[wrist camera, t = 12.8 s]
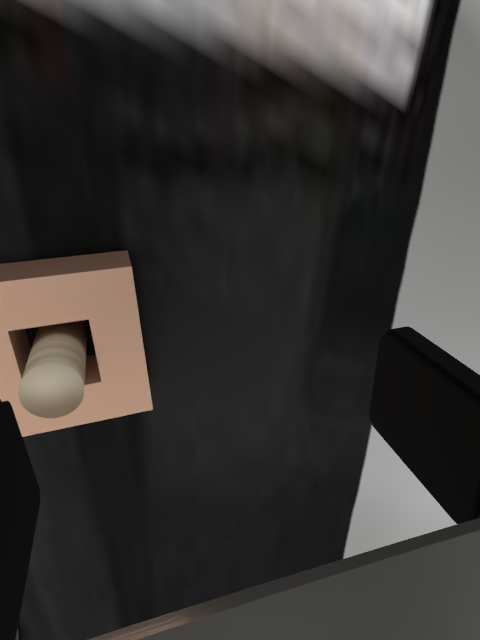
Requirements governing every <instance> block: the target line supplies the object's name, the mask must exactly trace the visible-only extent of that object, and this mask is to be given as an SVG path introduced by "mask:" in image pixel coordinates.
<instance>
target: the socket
mask: <svg viewBox="0 0 480 640" xmlns="http://www.w3.org/2000/svg"><path fill="white" fill-rule="evenodd" d="M88 319H89V323H90V328H91V333H92V337H93V342H94V347H95V352H96V355H91V356H86V368H85V386H84V397H83V400H82V402H81V404H80V405H79V406H78V407H77V408H76V409H75V410H74V411H73V412H71V413H70V414H68V415H65V416H63V417H59V418H42V417H38V416H35V415H33V414H31V413H30V412H28V411H27V410H26V409H25V408H24V407H23V406H22V404H21V403H20V400H19V396H18V390H19V386H20V383H21V380H22V377H23V373H24V370H25V367H26V364H27V361H28V357H29V354H30V351H31V348H30V344H29V340H28V337H27V333H26V330H25V329H26V328H33V327H40V326H47V325H54V324H60V323H67V322H74V321H81V320H88ZM0 399H1V401H2V402H3V401H9V402H10V403H11V405H12V408H13V411H14V414H15V417H16V420H17V423H18V426H19V429H20V432H21V435H22V437H24V436H29V435H33V434H38V433H43V432H48V431H53V430H57V429H62V428H67V427H72V426H77V425H81V424H86V423H91V422H96V421H101V420H105V419H110V418H115V417H120V416H125V415H129V414H134V413H139V412H144V411H149V410H153V407H152V400H151V393H150V386H149V380H148V373H147V366H146V359H145V353H144V346H143V339H142V333H141V326H140V319H139V312H138V306H137V299H136V292H135V285H134V279H133V272H132V266H131V262H130V258H129V254H128V250H125V251H116V252H107V253H97V254H88V255H79V256H70V257H60V258H51V259H42V260H33V261H23V262H14V263H5V264H0Z"/></svg>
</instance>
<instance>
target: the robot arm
mask: <svg viewBox="0 0 480 640" xmlns="http://www.w3.org/2000/svg"><path fill="white" fill-rule="evenodd" d="M369 416H370V421H371V423H372V425H373V427H374V428H375V429H376V430H377V431H378V433H379V434H380V435H381V436H382V437H383V439H384V440H385V441H386V442H387V443H388V444H389V446H390V447H391V448H392V449H393V450H394V451H395V453H396V454H397V455H398V456H399V457H400V458H401V459H402V461H403V462H404V463H405V464H406V465H407V467H408V468H409V469H410V470H411V471H412V472H413V474H414V475H415V476H416V477H417V478H418V480H419V481H420V482H421V483H422V484H423V485H424V487H425V488H426V489H427V490H428V491H429V492H430V494H431V495H432V496H433V497H434V498H435V499H436V500H437V502H438V503H439V504H440V505H441V506H442V508H443V509H444V510H445V511H446V512H447V513H448V514H449V516H450V517H451V518H452V519H453V520H454V521H455V522H456V523H457V524H458V525H454V526H451V527H448V528H444V529H441V530H438V531H434V532H431V533H428V534H424V535H421V536H418V537H414V538H411V539H408V540H404V541H402V542H398V543H395V544H391V545H388V546H385V547H381V548H378V549H375V550H372V551H369V552H365V553H362V554H359V555H355V556H352V557H349V558H346V559H342V560H339V561H336V562H333V563H329V564H326V565H323V566H320V567H316V568H313V569H310V570H307V571H303V572H300V573H297V574H294V575H290V576H287V577H284V578H281V579H278V580H274V581H271V582H268V583H265V584H261V585H258V586H255V587H252V588H249V589H245V590H242V591H239V592H236V593H233V594H229V595H226V596H223V597H220V598H217V599H214V600H210V601H207V602H204V603H201V604H198V605H194V606H191V607H188V608H185V609H182V610H179V611H175V612H172V613H169V614H166V615H163V616H159V617H156V618H153V619H150V620H147V621H144V622H140V623H137V624H134V625H131V626H128V627H125V628H122V629H118V630H115V631H112V632H109V633H106V634H103V635H100V636H97V637H94V638H91V639H88V640H480V375H478V374H477V373H475V372H474V371H473V370H471V369H470V368H468V367H467V366H466V365H464V364H463V363H461V362H460V361H458V360H457V359H455V358H454V357H453V356H451V355H450V354H448V353H447V352H445V351H444V350H443V349H441V348H440V347H438V346H437V345H435V344H434V343H432V342H431V341H430V340H428V339H426V338H425V337H424V336H422V335H421V334H420V333H418V332H416V331H415V330H414V329H412V328H410V327H402V328H396V329H390V330H388V331H386V333H385V335H384V336H383V337H381V339H380V343H379V350H378V357H377V364H376V371H375V378H374V385H373V392H372V399H371V406H370V413H369ZM39 506H40V490H39V485H38V482H37V479H36V476H35V473H34V471H33V468H32V465H31V462H30V459H29V456H28V453H27V450H26V447H25V444H24V441H23V438H22V435H21V432H20V429H19V426H18V423H17V420H16V417H15V414H14V411H13V408H12V405H11V403H10V402H9V401H3V402H2V401H1V399H0V640H15V639H16V634H17V628H18V622H19V617H20V611H21V606H22V600H23V595H24V589H25V583H26V578H27V572H28V567H29V561H30V556H31V550H32V545H33V539H34V533H35V528H36V522H37V517H38V511H39Z"/></svg>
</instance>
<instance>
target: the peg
mask: <svg viewBox="0 0 480 640" xmlns="http://www.w3.org/2000/svg"><path fill="white" fill-rule="evenodd" d="M87 331H88V330H87V325H86V323H85V321H84V320H81V321H74V322H67V323H60V324H54V325H47V326H40V327H38V329H37V332H36V335H35V338H34V342H33V345H32V348H31V351H30V354H29V357H28V361H27V364H26V367H25V370H24V373H23V377H22V380H21V383H20V386H19V390H18V396H19V400H20V403H21V404H22V406H23V407H24V408H25V409H26V410H27V411H28V412H30V413H31V414H33V415H35V416H38V417H42V418H59V417H63V416H65V415H68V414H70V413H71V412H73V411H74V410H75V409H76V408H77V407H78V406H79V405H80V404H81V402H82V400H83V397H84V386H85V368H86V350H87Z"/></svg>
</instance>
